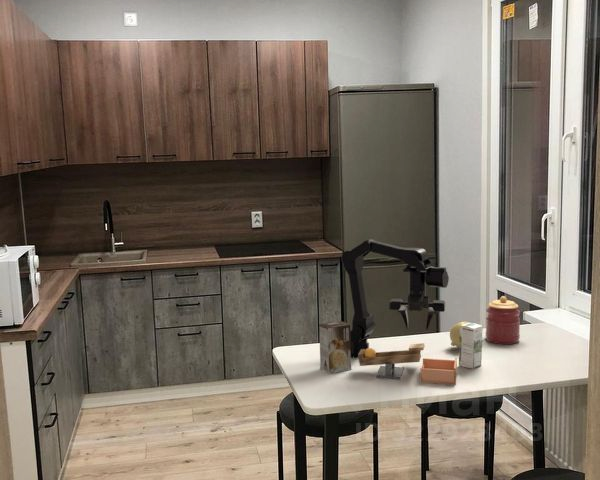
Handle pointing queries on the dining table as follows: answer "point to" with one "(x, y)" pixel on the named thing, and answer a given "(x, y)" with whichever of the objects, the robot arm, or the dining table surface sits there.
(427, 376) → the orange open box
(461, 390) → the dining table surface
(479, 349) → the syrup box
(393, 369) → the lever stand
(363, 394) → the dining table surface
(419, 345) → the lever
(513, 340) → the canister
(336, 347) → the coffee box
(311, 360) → the dining table surface
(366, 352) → the ball
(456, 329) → the yellow rounded lump
